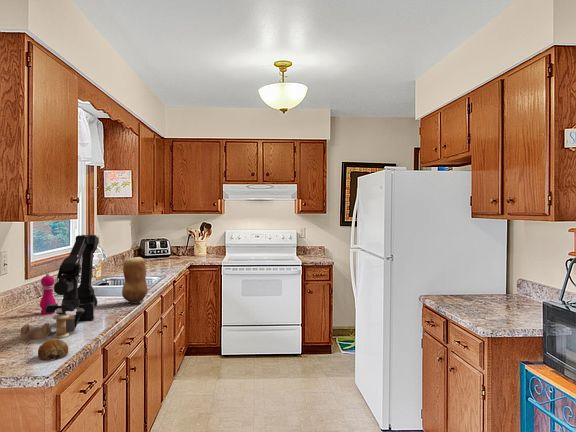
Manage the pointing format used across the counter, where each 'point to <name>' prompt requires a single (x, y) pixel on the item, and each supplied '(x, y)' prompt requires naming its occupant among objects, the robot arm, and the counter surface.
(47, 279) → the pepper mill
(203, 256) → the counter surface
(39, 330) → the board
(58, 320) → the door knob
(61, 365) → the counter surface
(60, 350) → the bread roll
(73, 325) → the block
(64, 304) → the robot arm
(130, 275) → the butternut squash
